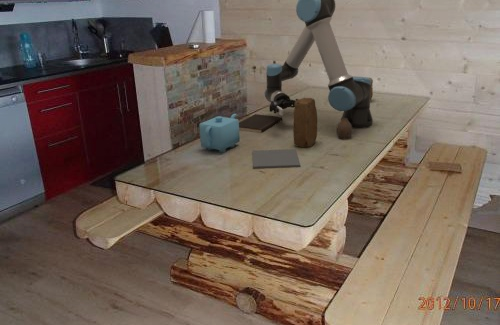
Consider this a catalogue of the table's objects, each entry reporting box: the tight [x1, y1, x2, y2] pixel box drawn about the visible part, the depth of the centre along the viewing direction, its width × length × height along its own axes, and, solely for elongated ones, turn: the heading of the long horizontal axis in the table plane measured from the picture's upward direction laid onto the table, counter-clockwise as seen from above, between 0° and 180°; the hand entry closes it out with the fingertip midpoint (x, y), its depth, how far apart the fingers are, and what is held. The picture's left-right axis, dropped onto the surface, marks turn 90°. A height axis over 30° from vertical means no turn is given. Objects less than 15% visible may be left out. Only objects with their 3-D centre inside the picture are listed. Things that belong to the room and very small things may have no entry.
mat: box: [252, 148, 301, 170], centre depth 179 cm, size 18×18×1 cm
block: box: [292, 97, 318, 148], centre depth 191 cm, size 11×8×20 cm
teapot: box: [198, 113, 240, 153], centre depth 194 cm, size 22×11×14 cm, turn 147°
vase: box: [336, 117, 353, 140], centre depth 200 cm, size 7×7×9 cm
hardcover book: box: [239, 113, 283, 134], centre depth 225 cm, size 16×23×2 cm
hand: (296, 111), depth 200 cm, fingers open, 13 cm apart
